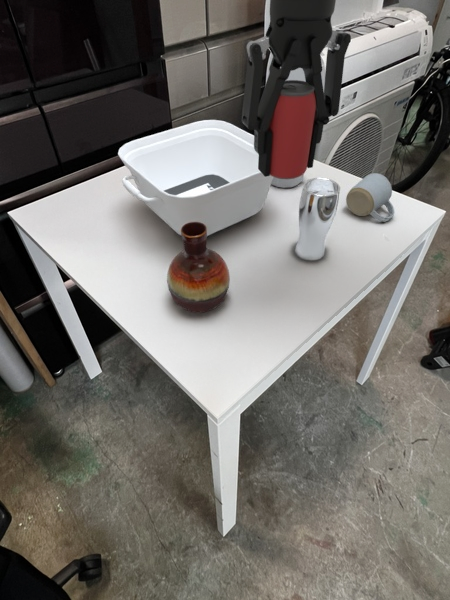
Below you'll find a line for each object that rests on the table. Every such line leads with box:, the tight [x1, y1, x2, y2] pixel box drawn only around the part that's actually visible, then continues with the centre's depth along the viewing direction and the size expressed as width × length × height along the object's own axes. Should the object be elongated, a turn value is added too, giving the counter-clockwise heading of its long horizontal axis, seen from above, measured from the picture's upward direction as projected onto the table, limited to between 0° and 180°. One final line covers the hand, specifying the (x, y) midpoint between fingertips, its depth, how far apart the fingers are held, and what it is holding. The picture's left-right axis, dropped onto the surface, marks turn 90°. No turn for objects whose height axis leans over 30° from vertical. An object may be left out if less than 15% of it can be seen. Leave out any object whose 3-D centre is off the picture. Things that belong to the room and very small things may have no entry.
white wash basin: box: [117, 119, 273, 237], centre depth 83 cm, size 34×29×15 cm
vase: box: [166, 222, 231, 313], centre depth 64 cm, size 11×11×15 cm
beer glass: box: [294, 177, 341, 261], centre depth 73 cm, size 7×7×15 cm
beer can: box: [268, 79, 316, 179], centre depth 54 cm, size 7×7×12 cm
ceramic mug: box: [345, 172, 395, 223], centre depth 85 cm, size 11×8×8 cm
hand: (285, 167), depth 58 cm, fingers closed on beer can, 7 cm apart
